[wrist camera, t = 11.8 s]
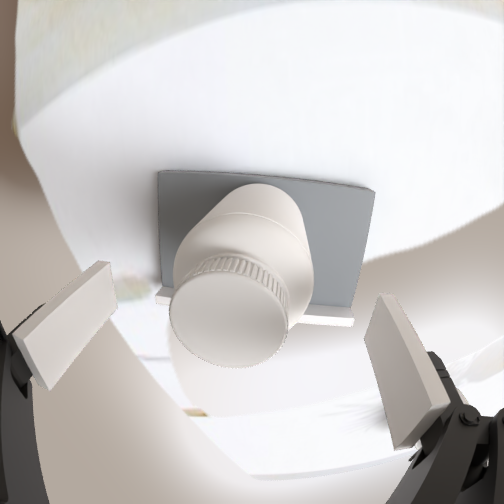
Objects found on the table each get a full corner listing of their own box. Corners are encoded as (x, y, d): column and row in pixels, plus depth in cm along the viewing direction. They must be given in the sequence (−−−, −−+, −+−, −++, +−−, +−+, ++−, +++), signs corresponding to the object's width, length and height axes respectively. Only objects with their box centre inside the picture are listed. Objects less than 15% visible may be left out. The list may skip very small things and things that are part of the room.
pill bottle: (206, 249, 27) (135, 353, 13) (231, 169, 24) (158, 205, 10) (283, 277, 27) (279, 403, 13) (316, 201, 24) (357, 278, 10)
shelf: (166, 170, 26) (148, 174, 23) (369, 188, 25) (382, 196, 21) (169, 290, 31) (156, 308, 28) (344, 310, 30) (350, 331, 26)
